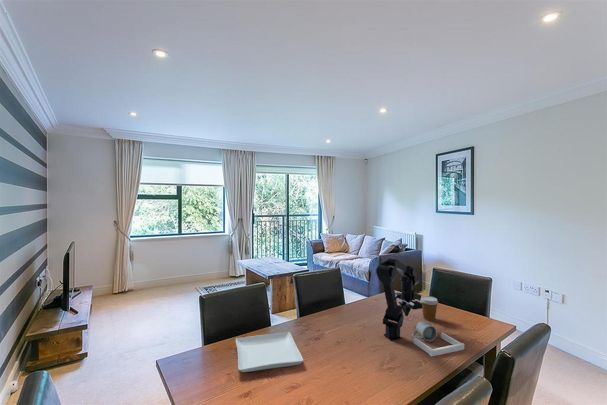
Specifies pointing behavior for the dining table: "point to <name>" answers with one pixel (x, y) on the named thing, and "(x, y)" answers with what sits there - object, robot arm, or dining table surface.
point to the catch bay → (443, 350)
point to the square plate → (267, 352)
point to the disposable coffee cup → (429, 307)
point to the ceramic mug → (425, 331)
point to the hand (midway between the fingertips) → (406, 316)
